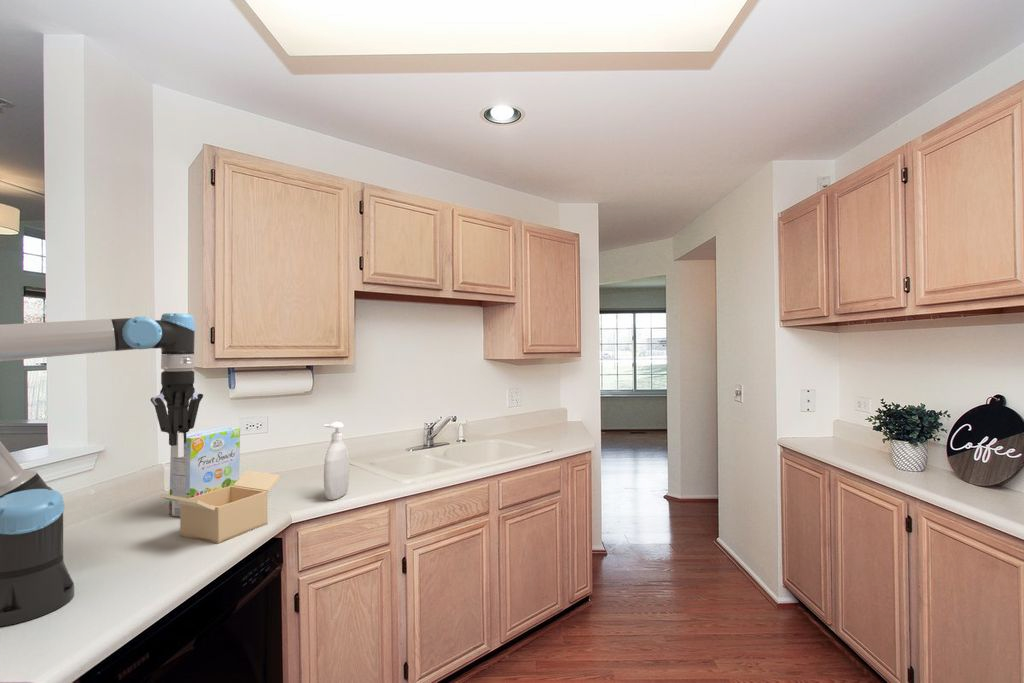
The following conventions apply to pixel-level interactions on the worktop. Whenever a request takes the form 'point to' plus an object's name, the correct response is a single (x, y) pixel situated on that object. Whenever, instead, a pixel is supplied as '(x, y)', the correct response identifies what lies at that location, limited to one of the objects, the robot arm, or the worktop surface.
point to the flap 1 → (188, 502)
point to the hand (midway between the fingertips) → (177, 456)
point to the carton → (224, 514)
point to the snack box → (205, 464)
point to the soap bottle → (336, 465)
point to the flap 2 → (257, 480)
